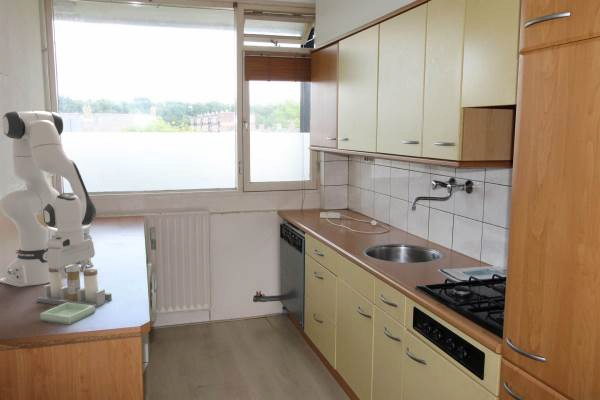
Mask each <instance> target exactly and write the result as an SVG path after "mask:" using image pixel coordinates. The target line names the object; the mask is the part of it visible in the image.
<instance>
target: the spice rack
mask: <svg viewBox="0 0 600 400" xmlns="http://www.w3.org/2000/svg"><path fill="white" fill-rule="evenodd" d="M105 291H106V290H105V289H100V290H99V289H98V291H97V292H95V303H96V304H94V303H86V302H85V287H82V288H80V289H79V290H77V297H78V301H71V300H68V287H67V285H65V286H64V287H62V288H60V299H55V298H51V292H50V283H49V284H46V285H44V286H43V293H44V294H43V296H38V297H37V298H36V300H37V302H38V303H43V304H51V305H58V306H59V305H61V304H64V303H66V302H70V303H78V304H85V305H93V306H95V307H96V306H97V307H98V306H101V305H103V304H106V302H110V301H112V300H113V297H112V293H111V292H110V293H109V292H105Z"/></svg>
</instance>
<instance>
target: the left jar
mask: <svg viewBox="0 0 600 400" xmlns="http://www.w3.org/2000/svg"><path fill="white" fill-rule="evenodd" d="M49 278H50V282H49V284H50V292H51V298H55V299H60V288H62V287H64V279H61V274H60V273H59V271H58V269H50V268H49Z"/></svg>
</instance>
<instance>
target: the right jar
mask: <svg viewBox="0 0 600 400" xmlns="http://www.w3.org/2000/svg"><path fill="white" fill-rule="evenodd" d="M98 273H99V272H98V269H95V268H91V269H90V268H89V269H86V270H85V271H83V272H82V274H83V284H84V287H85V302H86V303H94V304H95V305H96V303H95V292H97V291H99V282H98V281H99V280H98ZM84 287H83V288H84Z"/></svg>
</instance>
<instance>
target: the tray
mask: <svg viewBox="0 0 600 400" xmlns="http://www.w3.org/2000/svg"><path fill="white" fill-rule="evenodd" d="M95 308H96V305H95V306H93V305H85V304H78V303H70V302H66V303H64V304H61V305H59V304H58V305H57V306H54V307H52V308H50V309H48V310H45V311H43V312H40V321H43V322H50V323H57V324H63V325H64V324H65V325H72V324H74V323H76V322H79V321H80V320H82V319H85V318H87V317H89V316H91V315H93V314H95V313H96V309H95Z"/></svg>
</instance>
